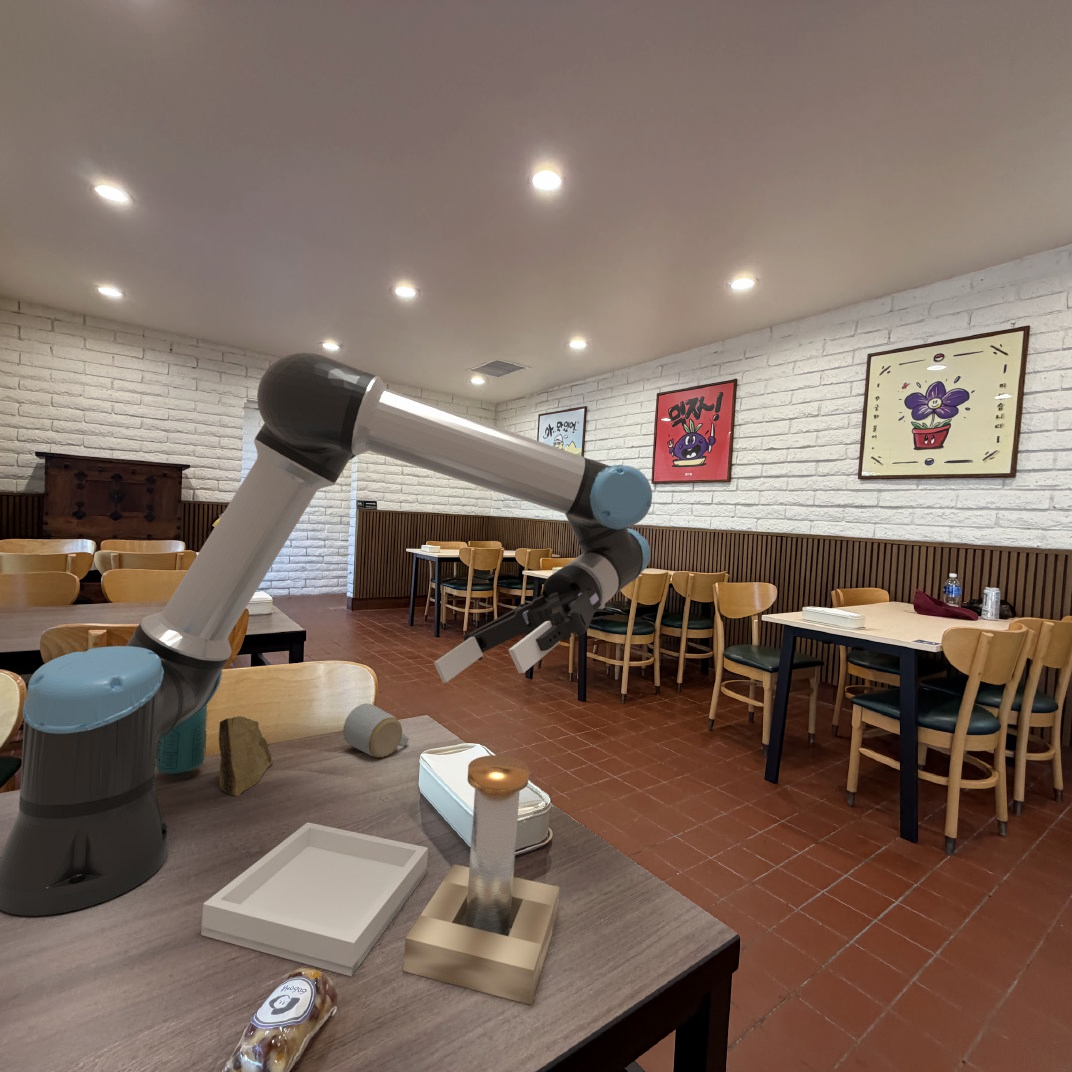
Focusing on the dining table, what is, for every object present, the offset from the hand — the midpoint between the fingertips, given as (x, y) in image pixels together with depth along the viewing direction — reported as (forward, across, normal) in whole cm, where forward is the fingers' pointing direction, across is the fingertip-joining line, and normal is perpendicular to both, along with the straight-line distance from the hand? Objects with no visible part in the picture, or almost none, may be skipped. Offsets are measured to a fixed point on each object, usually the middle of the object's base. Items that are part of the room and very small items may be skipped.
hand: (474, 667), depth 62 cm
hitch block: (+12, 0, -23) cm, 26 cm away
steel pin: (+12, 0, -23) cm, 26 cm away
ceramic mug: (-7, +47, -16) cm, 50 cm away
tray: (+19, +15, -15) cm, 29 cm away
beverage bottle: (+19, +54, -2) cm, 57 cm away
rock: (+12, +48, -7) cm, 50 cm away
